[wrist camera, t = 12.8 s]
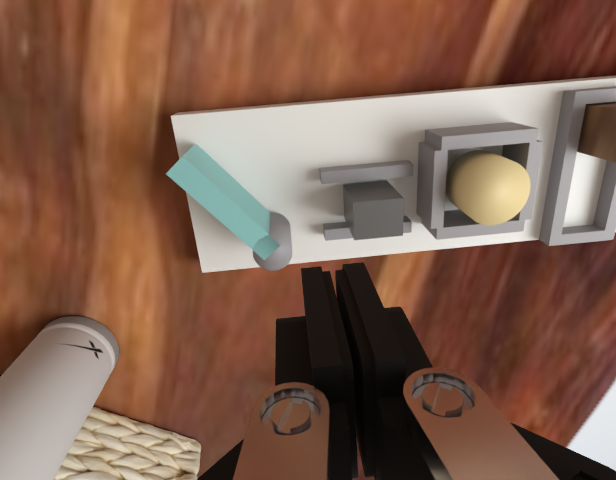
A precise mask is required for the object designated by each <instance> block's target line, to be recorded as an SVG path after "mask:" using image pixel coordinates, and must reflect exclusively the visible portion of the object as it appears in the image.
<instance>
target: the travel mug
mask: <svg viewBox="0 0 616 480" xmlns="http://www.w3.org/2000/svg"><path fill="white" fill-rule="evenodd" d="M118 358H119V346H118V343H117V340H116V339H115V337H114V335H113V334H112V333H111V332H110V331H109V330H108V329H107V328H106V327H105V326H104V325H102V324H101V323H99V322H97V321H95V320H92V319H89V318H86V317H80V316H68V317H62V318H58V319H55V320H54V321H52V322H50V323H49V324H48V325H46V326H45V327H44V328H43V330H42V331H41V332H40V333H39V334H38V335H37V336H36V338H35V339H34V340H33V341H32V342H31V343H30V344H29V345H28V346H27V347H26V349H25V350H24V351H23V352H22V353H21V354H20V355H19V356H18V358H17V359H16V360H15V361H14V362H13V363H12V364H11V365H10V366H9V368H8V369H7V370H6V371H5V372H4V373H3V374H2V375H1V377H0V480H53V479H54V477H55V475H56V474H57V472H58V470H59V468H60V466H61V464H62V463H63V461H64V459H65V457H66V455H67V453H68V452H69V450H70V448H71V446H72V444H73V442H74V440H75V439H76V437H77V435H78V433H79V431H80V429H81V428H82V426H83V424H84V422H85V420H86V418H87V416H88V415H89V413H90V411H91V409H92V407H93V405H94V404H95V402H96V400H97V398H98V396H99V394H100V393H101V391H102V389H103V387H104V385H105V383H106V381H107V380H108V378H109V375H110V374H111V372H112V370H113V369H114V367H115V365H116V363H117V361H118Z"/></svg>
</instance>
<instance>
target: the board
mask: <svg viewBox="0 0 616 480" xmlns="http://www.w3.org/2000/svg"><path fill="white" fill-rule="evenodd" d="M604 102H616V75H615V76H603V77H591V78H579V79H567V80H556V81H544V82H532V83H520V84H508V85H497V86H485V87H473V88H461V89H449V90H438V91H426V92H414V93H402V94H390V95H379V96H367V97H355V98H343V99H332V100H320V101H308V102H296V103H284V104H273V105H261V106H249V107H237V108H225V109H214V110H202V111H190V112H178V113H176V114H174V115H171V120H172V125H173V130H174V135H175V140H176V145H177V150H178V155H179V159H180V158H181V157H182V156H183V155H184V154H185V153H186V152H187V151H188V150H189V149H191V148H192V147H193V146H194V145H195V144H197V145H198V146H199V147H200V148H202V149H203V150H204V151H205V152H206V153H207V154H208V155H209V156H210V157H211V158H212V159H213V160H214V161H215V162H217V163H218V164H219V165H220V166H221V167H222V168H223V169H224V170H225V171H226V172H227V173H228V174H229V175H230V176H232V177H233V178H234V179H235V180H236V181H237V182H238V183H239V184H240V185H241V186H242V187H243V188H244V189H245V190H247V191H248V192H249V193H250V194H251V195H252V196H253V197H254V198H255V199H256V200H257V201H258V202H259V203H260V204H262V205H263V206H264V207H265V208H266V209H267V210H268V211H269V212H270V213H271V212H275V213H279V214H282V215H283V216H285V217H286V218H287V220H288V221H289V223H290V229H291V241H292V258H291V260H290V262H289V263H288V264H295V263H305V262H315V261H326V260H336V259H346V258H356V257H366V256H376V255H386V254H397V253H407V252H417V251H427V250H437V249H447V248H458V247H468V246H478V245H488V244H498V243H508V242H518V241H529V240H540V241H542V242H544V243H545V244H547V245H548V246H553V245H564V244H574V243H584V242H594V241H604V240H613V239H614V234H615V232H616V163H615V162H611V161H608V160H604V159H601V158H597V157H594V156H590V155H586V154H583V153H579V152H577V149H578V143H579V138H580V133H581V127H582V122H583V117H584V111H585V106H586V104H593V103H604ZM376 181H388V182H389V183H390V184H391V185H392V186H393V187H394V188H395V189H396V190H397V191H398V192H399V193H400V195H401V196H402V197H403V198H404V215H403V236H394V237H384V238H374V239H363V240H354V239H353V236H352V234H351V232H350V230H349V227H348V225H347V223H346V221H345V218H344V199H343V184H354V183H365V182H376ZM186 194H187V199H188V204H189V209H190V214H191V219H192V224H193V229H194V234H195V239H196V244H197V249H198V254H199V259H200V264H201V269H202V273H204V272H214V271H224V270H234V269H244V268H254V267H260V266H259V265H258V264H257V263H256V262H255V260H254V258H253V250H252V249H251V248H250V247H249V246H248V245H246V244H245V243H244V242H243V241H242V240H241V239H240V238H238V237H237V236H236V235H235V234H234V233H233V232H232V231H230V230H229V229H228V228H227V227H226V226H225V225H224V224H222V223H221V222H220V221H219V220H218V219H217V218H216V217H214V216H213V215H212V214H211V213H210V212H209V211H208V210H206V209H205V208H204V207H203V206H202V205H201V204H200V203H198V202H197V201H196V200H195V199H194V198H193V197H192V196H190V195H189V194H188V193H187V192H186Z"/></svg>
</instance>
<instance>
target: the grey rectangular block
mask: <svg viewBox="0 0 616 480" xmlns="http://www.w3.org/2000/svg"><path fill="white" fill-rule="evenodd" d="M343 199H344V218H345V221H346V223H347V225H348V227H349V230H350V232H351V234H352V236H353V239H354V240H363V239H374V238H384V237H394V236H403V215H404V198H403V197H402V196H401V195H400V193H399V192H398V191H397V190H396V189H395V188H394V187H393V186H392V185H391V184H390V183H389V182H388V181H376V182H365V183H354V184H343Z"/></svg>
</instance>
